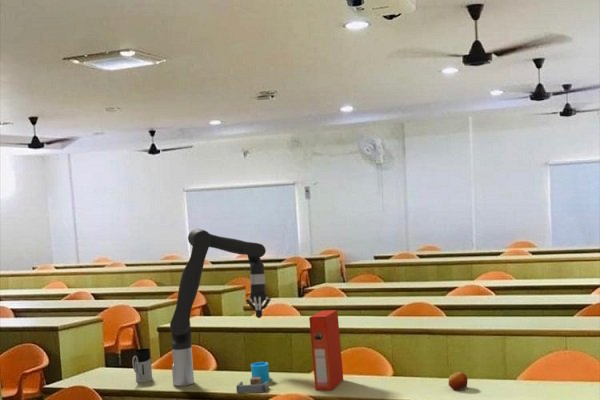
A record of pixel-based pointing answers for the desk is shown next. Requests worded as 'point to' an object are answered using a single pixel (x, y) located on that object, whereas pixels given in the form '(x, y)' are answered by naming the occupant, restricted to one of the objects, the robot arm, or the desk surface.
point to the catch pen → (252, 387)
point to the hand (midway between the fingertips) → (259, 317)
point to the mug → (260, 371)
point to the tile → (255, 381)
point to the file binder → (326, 349)
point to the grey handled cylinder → (142, 365)
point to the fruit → (458, 381)
